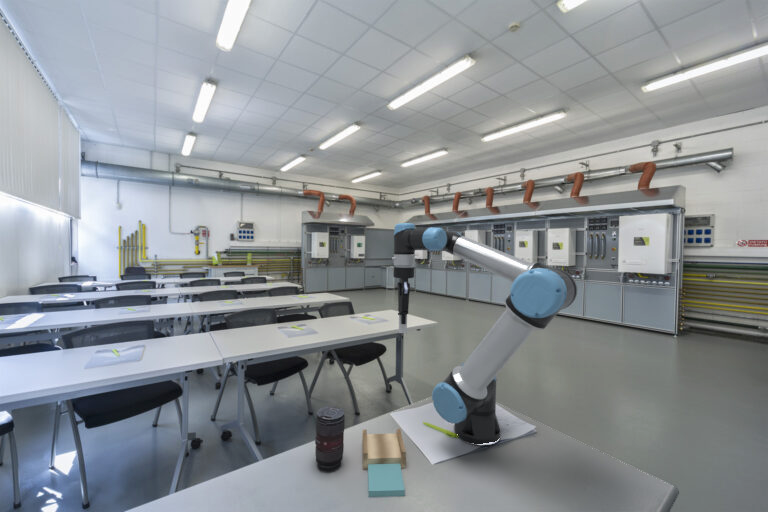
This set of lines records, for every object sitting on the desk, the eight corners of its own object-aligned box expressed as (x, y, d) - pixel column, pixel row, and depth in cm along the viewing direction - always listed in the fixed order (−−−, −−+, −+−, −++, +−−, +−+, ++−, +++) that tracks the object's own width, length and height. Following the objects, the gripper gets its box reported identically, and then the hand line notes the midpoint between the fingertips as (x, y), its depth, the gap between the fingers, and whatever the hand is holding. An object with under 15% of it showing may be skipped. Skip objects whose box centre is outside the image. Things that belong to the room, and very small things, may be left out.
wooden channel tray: (399, 442, 101) (400, 428, 101) (405, 467, 89) (405, 452, 89) (362, 443, 100) (362, 429, 100) (363, 469, 88) (363, 453, 88)
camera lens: (338, 476, 85) (339, 421, 85) (310, 471, 87) (311, 417, 87) (347, 457, 93) (348, 407, 93) (321, 453, 95) (322, 403, 95)
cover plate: (399, 470, 89) (400, 463, 89) (404, 498, 79) (404, 490, 79) (367, 471, 88) (368, 464, 88) (368, 499, 78) (368, 491, 78)
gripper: (391, 265, 119) (390, 328, 119) (395, 267, 106) (394, 337, 106) (411, 266, 120) (409, 328, 120) (417, 267, 107) (416, 337, 107)
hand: (402, 332), depth 113 cm, fingers closed
